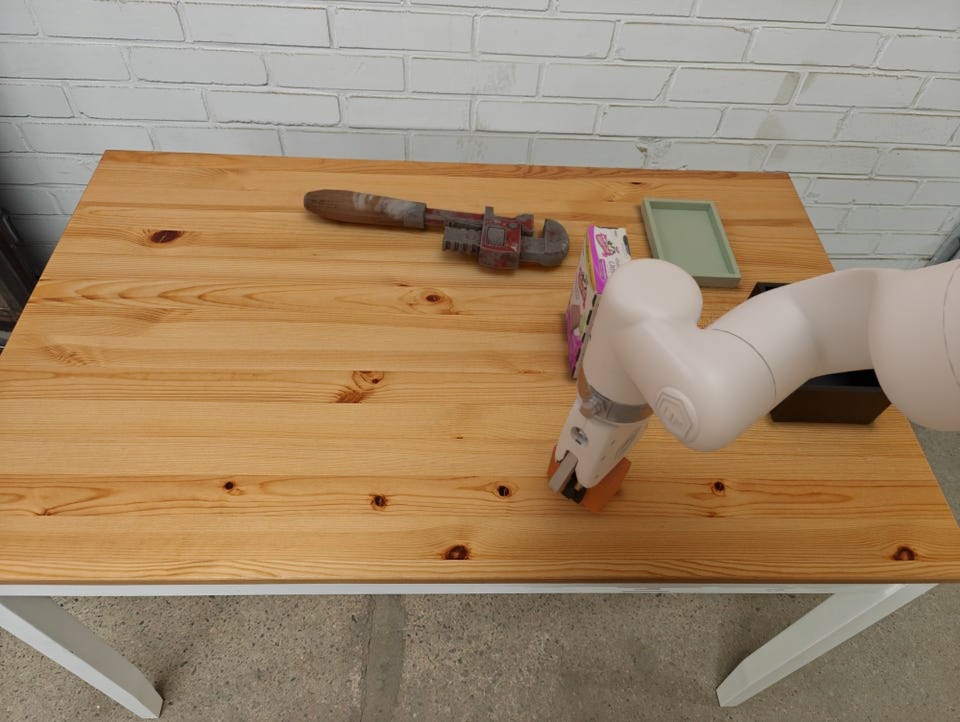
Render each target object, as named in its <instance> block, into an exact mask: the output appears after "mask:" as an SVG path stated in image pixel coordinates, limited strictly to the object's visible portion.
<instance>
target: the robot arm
mask: <svg viewBox="0 0 960 722" xmlns="http://www.w3.org/2000/svg"><path fill="white" fill-rule="evenodd" d="M631 260H632V261H629V262H627V263H625V264H623V265H621V266H619V267H618V268H617V269H616V270H615V271H614V272H613V273H612V274H611V275H610V277H609V278H608V280H607V281H606V284H605V286H604V289H603V292H602V296H601V299H600V303H599V306H598V309H597V313H596V316H595V320H594V323H593V327H592V330H591V334H590V337H589V341H588V344H587V348H586V351H585V354H584V358H583V361H582V365H581V368H580V372H579V375H578V378H577V379H576V383H575V391H576V398H575V400H574V403H573V405H572V407H571V408H570V411H569V413H568V415H567V418H566V420H565V422H564V425H563V426H562V430H561V432H560V434H559V436H558V437H559V438H558V440H557V443H556V444H557V447H556V452H555V461H556V463H558V462H559V463H561V462H562V461H563V462H562V463H561V465H560V466H559V468H558V469H557V471H556V472H555V474H554V475H553V477H552V478H551V477H550V479H549V480H548V483H547V484H546V487H547V488H549V489H550V490H551V491H552V492H553V493H555V495H557V494H559V493H560V494H561V495H562V496H563V497H564V498H566V500H572V501H573V502H574V503H575V504H577V505H579V504H581V503H580V502H581V501H582V499H583V497H584V494H585V492H586V489H587V488H591V487H593V486H595V485H596V484H597V483H599V482H600V481H601V480H602V479H603V478H604V477H605V476H606V475H607V474H608V473H609V472H610V471H611V470H612V469H613V468H614V467H615V466H616V465H617V464H618V463H619V461H620V460H621V459H622V458H623V457H626V455H628V453H630V451H631V450H632V449H633V448H634V447H635V446H636V445H638V443H639V441H640V440H641V439H642V438H643V437H644V435H645V433H646V430H647V429H648V426H649V424H650V422H651V419H652V416H654V414H655V416H656V418H657V419H658V420H659V422H660V424H661V425H662V426H663V428H664V429H665V431H666V432H667V433H669V434H670V435H671V436H672V437H673V438H675V439H676V440H677V441H678V442H679V443H681V444H682V445H683V446H684V447H686V448H687V449H690V450H692V451H696V452H699V453H714V452H718V451H720V450H723V449H726V448H727V447H728V446H730V445H731V444H733V443H734V442H735V441H736V440H738V439H739V438H740V437H742V436H743V435H744V434H745V433H747V432H748V430H750V429H751V428H752V427H753V426H754V425H755V424H758V422H759V421H760V420H762V419H763V418H764V417H766V415H768V414H769V413H770V411H771V410H772V409H773V408H774V407H776V406H777V405H778V404H779V403H780V402H782V401H783V400H784V399H785V398H786V397H787V396H789V395H790V394H791V393H792V392H793V391H795V390H796V389H797V388H799V387H800V386H801V385H802V384H804V383H805V382H806V381H807V380H809V379H811V378H814V377H817V376H822V375H826V374H832V373H839V372H847V371H855V370H863V369H874V370H875V373H876V376H877V378H878V381H879V383H880V385H881V387H882V389H883V391H884V393H885V394H886V396H887V397H888V399H889V400H890V402H891V403H892V404H891V405H892V406H893V407H894V408H895V409H896V410H897V411H898V412H899V413H900V414H902V415H903V416H904V417H905V418H907V419H908V420H909V421H911V422H912V423H914V424H915V425H918V426H921V427H922V428H926V429H928V430H932V431H938V432H948V433H949V432H960V258H957V259H953V260H949V261H945V262H941V263H938V264H933V265H928V266H924V267H920V268H915V269H908V270H907V269H906V270H905V269H901V268H896V267H895V268H894V267H854V268H853V267H852V268H846V269H841V270H837V271H833V272H828V273H825V274H821V275H818V276H812V277H810V278H807V279H803V280H800V281H796V282H793V283H792V282H791V283H792V284H789V285H785V286H782V287H779V288H776V289H772V290H769V291H766V292H764V293H761V294H759V295H756V296H754V297H752V298H750V299H748V298H747V299H748V300H747V299H745V301H743V302H741V303H740V304H738V305H737V306H735V307H733V308H732V309H730V310H729V311H727V312H726V313H724V314H723V315H721V316H720V317H719V318H718V317H717V319H715V320H714V321H713V322H710V323H709V324H708V325H706V326H705V327H703V328H700V327H699V326H698V324H699V321H700V319H701V317H702V313H703V308H704V301H703V300H704V299H703V294H702V291H701V288H700V286H698V284H697V283H696V281H695V280H694V279H693V277H692V276H691V275H689V274H688V273H687V272H686V271H685V270H683V269H682V268H680V267H678V266H676V265H674V264H672V263H669V262H667V261H663V260H659V259H653V258H649V257H646V258H645V257H644V258H637V259H631Z"/></svg>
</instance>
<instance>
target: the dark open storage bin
mask: <svg viewBox="0 0 960 722" xmlns="http://www.w3.org/2000/svg"><path fill="white" fill-rule="evenodd" d="M789 284H792V282H770V281H769V282H768V281H757V282H756V283H755V285H754V287H753V288H752V290H751V291H750V294H749V295H748V297H747V299H746V300H748V299H750V298H752V297H754V296H756V295H759V294H761V293H764V292H766V291H769V290H772V289H776V288H779V287H782V286H785V285H789ZM891 405H893V404H892V403H891V402H890V400H889V399H888V397H887V396H886V394H885V393H884V391H883V389H882V387H881V385H880V383H879V381H878V378H877V376H876V373H875V370H874V369H863V370H855V371H847V372H839V373H832V374H826V375H822V376H817V377H814V378H811V379H809V380H807V381H806V382H805V383H804V384H802V385H801V386H800V387H799V388H797V389H796V390H795V391H793V392H792V393H791V394H790V395H789V396H787V397H786V398H785V399H784V400H783V401H782V402H780V403H779V404H778V405H777V406H776V407H774V408H773V409H772V410H771V411H770V412H769V413H770V416H771V419H772V422H774V423H808V424H809V423H811V424H842V425H843V424H845V425H847V424H849V425H871V424H872V423H873V422H874V421H875V420H876V419H877V418H878V417H879V416H881V414H883V413H884V412H885V411H886V410H887V409H888V408H889V407H890V406H891Z"/></svg>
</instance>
